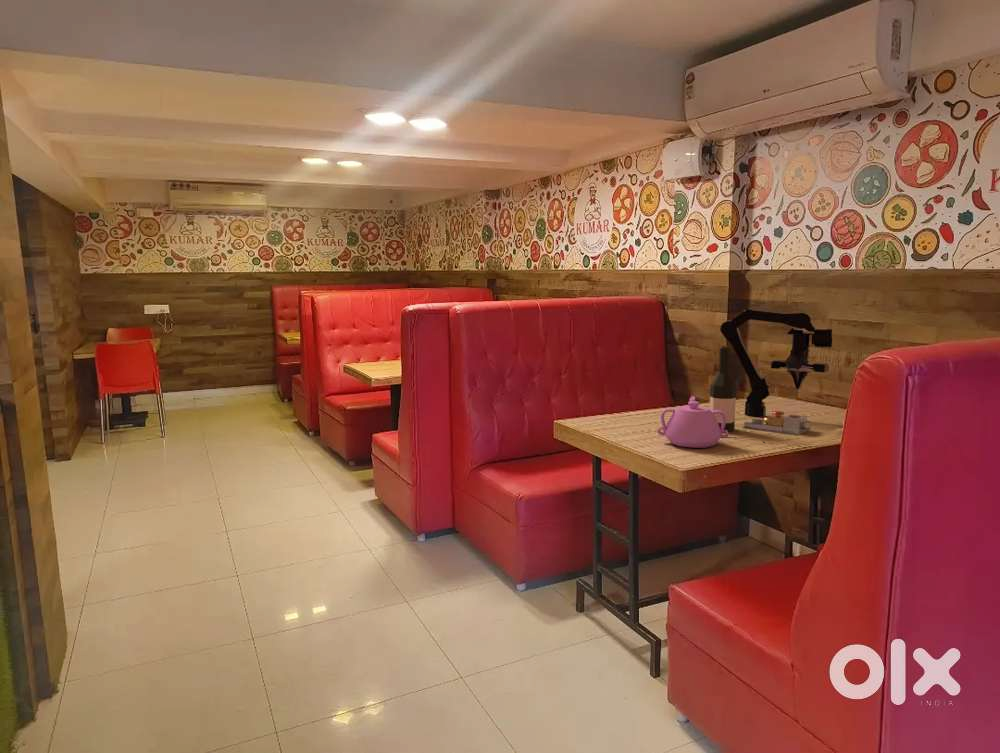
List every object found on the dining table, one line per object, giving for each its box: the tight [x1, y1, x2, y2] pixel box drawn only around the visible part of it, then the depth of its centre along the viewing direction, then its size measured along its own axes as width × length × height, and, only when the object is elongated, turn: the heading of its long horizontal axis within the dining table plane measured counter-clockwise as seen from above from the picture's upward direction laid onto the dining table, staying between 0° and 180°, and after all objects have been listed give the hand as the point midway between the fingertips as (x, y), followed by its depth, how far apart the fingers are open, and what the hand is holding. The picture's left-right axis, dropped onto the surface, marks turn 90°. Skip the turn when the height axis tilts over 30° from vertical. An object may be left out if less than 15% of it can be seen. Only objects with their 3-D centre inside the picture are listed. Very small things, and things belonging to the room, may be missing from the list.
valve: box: [762, 410, 788, 427], centre depth 231 cm, size 11×5×6 cm, turn 48°
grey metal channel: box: [740, 413, 812, 437], centre depth 232 cm, size 21×12×6 cm, turn 50°
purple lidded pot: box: [657, 395, 730, 449], centre depth 218 cm, size 22×22×14 cm
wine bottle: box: [709, 345, 737, 433], centre depth 229 cm, size 8×8×30 cm
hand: (797, 389), depth 247 cm, fingers closed
